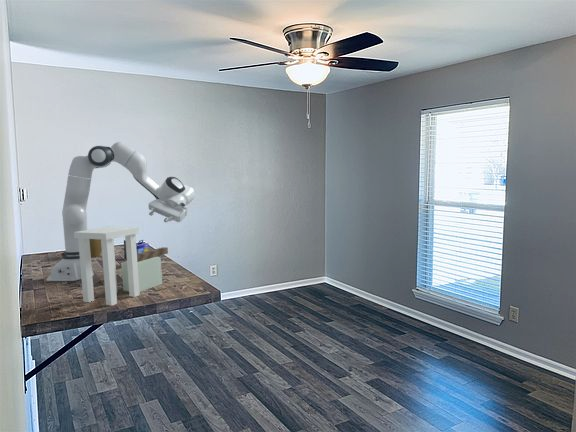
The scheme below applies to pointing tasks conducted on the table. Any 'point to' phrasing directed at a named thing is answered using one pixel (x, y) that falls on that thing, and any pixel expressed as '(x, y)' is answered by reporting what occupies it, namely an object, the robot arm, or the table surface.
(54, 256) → the table surface
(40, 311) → the table surface
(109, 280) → the stool
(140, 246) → the ink cartridge box
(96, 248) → the plant pot
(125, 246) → the phone stand
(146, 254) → the wooden board
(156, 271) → the pale green cuboid block
